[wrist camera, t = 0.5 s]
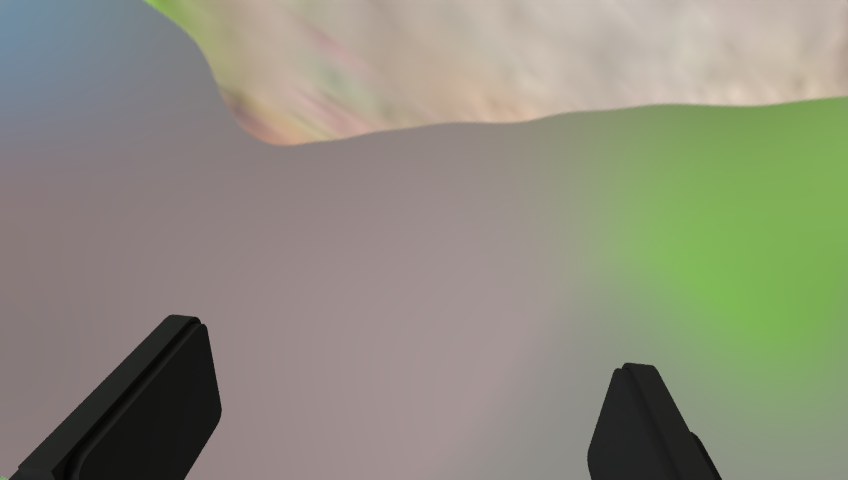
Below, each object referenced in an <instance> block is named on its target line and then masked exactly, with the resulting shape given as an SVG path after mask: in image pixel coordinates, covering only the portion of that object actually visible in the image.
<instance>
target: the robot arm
mask: <svg viewBox="0 0 848 480" xmlns="http://www.w3.org/2000/svg"><path fill="white" fill-rule="evenodd" d="M221 411H222V408H221V402H220V396H219V391H218V385H217V380H216V374H215V369H214V363H213V358H212V352H211V347H210V341H209V336H208V331H207V327H206V326H205V325H204V324H201V322H200V320H199V319H198V318H197V317H192V316H183V315H169V316H168V317H167V318H165V319H164V320H163V322H162V323H161V324H160V325H159V326H158V327H157V328H156V329H155V330H154V331H153V332H152V333H151V334H150V335H149V336H148V337H147V338H146V339H145V340H144V341H143V342H142V343H141V344H140V345H139V346H138V347H137V348H136V349H135V350H134V351H133V352H132V353H131V354H130V355H129V356H128V357H127V358H126V359H125V360H124V361H123V362H122V363H121V364H120V365H119V366H118V367H117V368H116V369H115V370H114V371H113V372H112V373H111V374H110V375H109V376H108V377H107V378H106V379H105V380H104V381H103V382H102V383H101V384H100V385H99V386H98V387H97V388H96V389H95V390H94V391H93V392H92V393H91V394H90V395H89V396H88V397H87V398H86V399H85V400H84V401H83V402H82V403H81V404H80V405H79V406H78V407H77V408H76V409H75V410H74V411H73V412H72V413H71V414H70V415H69V416H68V417H67V418H66V419H65V420H64V421H63V422H62V423H61V424H60V425H59V426H58V427H57V428H56V429H55V430H54V431H53V432H52V433H51V434H50V435H49V436H48V437H47V438H46V439H45V440H44V441H43V442H42V443H41V444H40V445H39V446H38V447H37V448H36V449H35V450H34V451H33V452H32V453H31V454H30V455H29V456H28V457H27V458H26V459H25V460H24V461H23V462H22V463H21V464H20V465H19V466H18V468H19V469H18V471H17V472H16V473H15V474H14V475H13V476H12V477H11V478H10V479H9V480H184V479H185V477H186V476H187V474H188V472H189V471H190V469H191V467H192V466H193V464H194V462H195V461H196V459H197V458H198V456H199V454H200V453H201V451H202V449H203V448H204V446H205V444H206V443H207V441H208V439H209V438H210V436H211V435H212V433H213V431H214V430H215V428H216V426H217V425H218V423H219V420H220V417H221ZM587 457H588V458H587V461H588V467H589V472H590V476H591V479H592V480H722V478H721V477H720V475H719V473H718V471H717V470H716V468H715V466H714V464H713V462H712V460H711V458H710V457H709V455H708V453H707V451H706V449H705V448H704V446H703V444H702V442H701V441H700V439H699V438H698V437H697V436H696V435H695V434H693V433H692V432H690V431H689V429H688V427H687V425H686V423H685V421H684V419H683V418H682V416H681V414H680V412H679V410H678V408H677V406H676V404H675V402H674V401H673V399H672V397H671V395H670V393H669V391H668V389H667V387H666V386H665V384H664V382H663V380H662V378H661V376H660V374H659V372H658V371H657V369H656V368H655V367H654V366H652V365H645V364H635V363H625V364H624V365H623V367H622V369H619V368H617V369H615V370H614V373H613V375H612V379H611V382H610V385H609V388H608V391H607V394H606V397H605V400H604V403H603V406H602V410H601V413H600V416H599V419H598V422H597V425H596V428H595V431H594V434H593V437H592V440H591V444H590V446H589V450H588V456H587ZM0 480H8V479H7V478H5V477H1V476H0Z"/></svg>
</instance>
